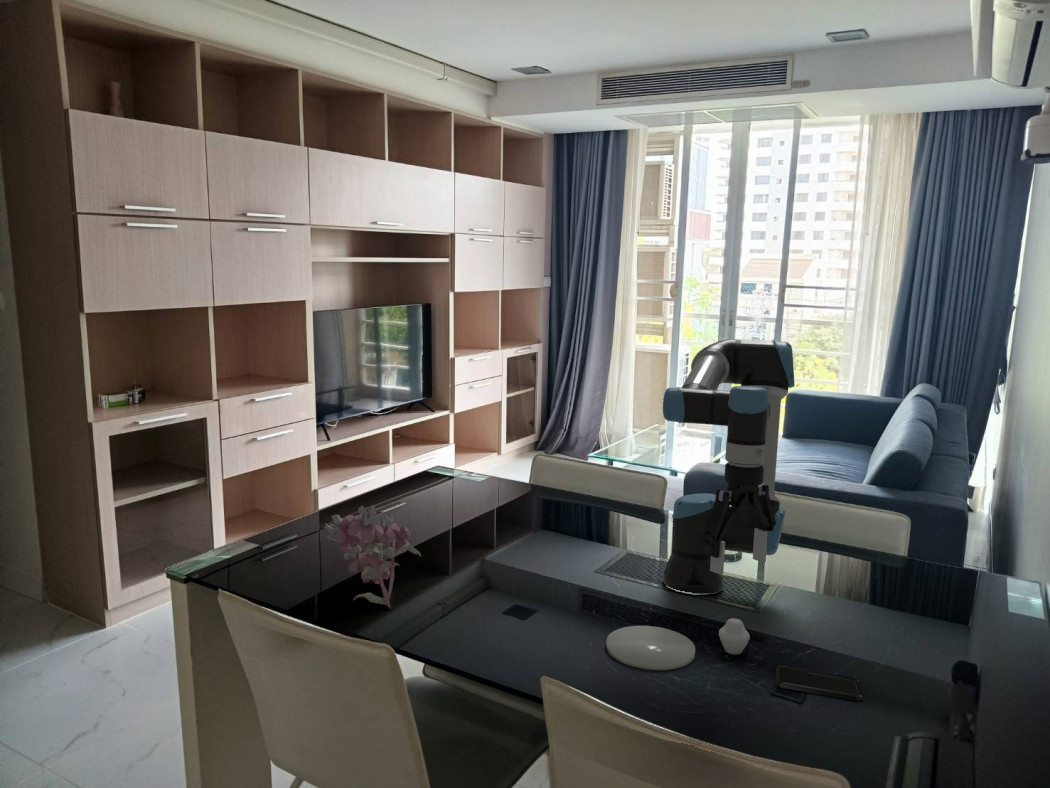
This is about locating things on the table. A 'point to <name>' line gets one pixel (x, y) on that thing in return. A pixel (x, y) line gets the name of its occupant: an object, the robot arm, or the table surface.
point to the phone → (818, 683)
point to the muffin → (734, 636)
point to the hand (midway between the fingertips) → (738, 566)
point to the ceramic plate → (650, 647)
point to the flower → (371, 546)
